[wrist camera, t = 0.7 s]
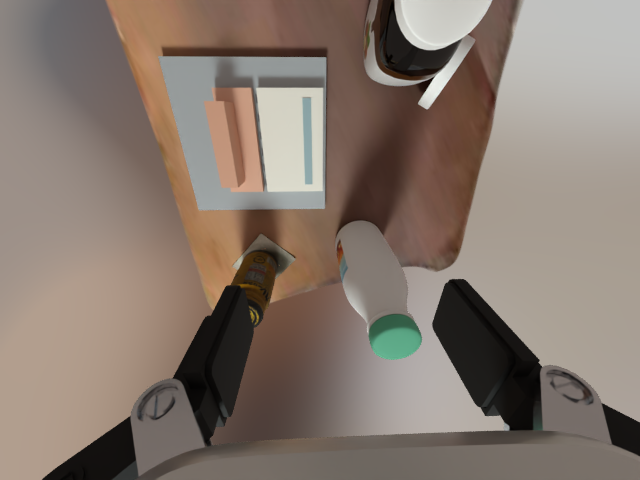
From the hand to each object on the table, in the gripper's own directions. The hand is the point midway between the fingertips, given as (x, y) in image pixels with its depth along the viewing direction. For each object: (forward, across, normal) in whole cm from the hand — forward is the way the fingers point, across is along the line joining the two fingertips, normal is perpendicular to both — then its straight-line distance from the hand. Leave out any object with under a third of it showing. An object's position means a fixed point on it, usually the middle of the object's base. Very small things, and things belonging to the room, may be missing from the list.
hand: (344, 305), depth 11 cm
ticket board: (+25, +9, -5) cm, 27 cm away
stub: (+24, +10, -5) cm, 27 cm away
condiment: (+25, +10, +14) cm, 31 cm away
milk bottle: (+25, -6, +10) cm, 28 cm away
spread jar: (+26, -10, -14) cm, 31 cm away
